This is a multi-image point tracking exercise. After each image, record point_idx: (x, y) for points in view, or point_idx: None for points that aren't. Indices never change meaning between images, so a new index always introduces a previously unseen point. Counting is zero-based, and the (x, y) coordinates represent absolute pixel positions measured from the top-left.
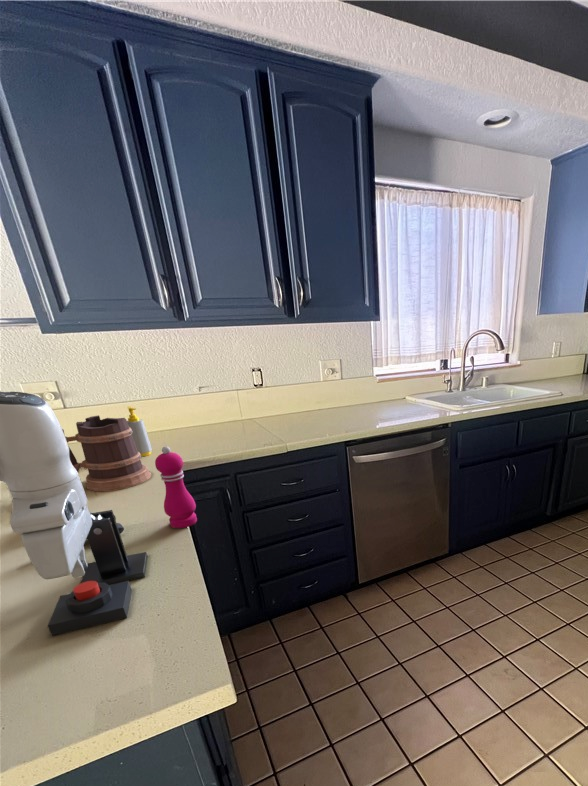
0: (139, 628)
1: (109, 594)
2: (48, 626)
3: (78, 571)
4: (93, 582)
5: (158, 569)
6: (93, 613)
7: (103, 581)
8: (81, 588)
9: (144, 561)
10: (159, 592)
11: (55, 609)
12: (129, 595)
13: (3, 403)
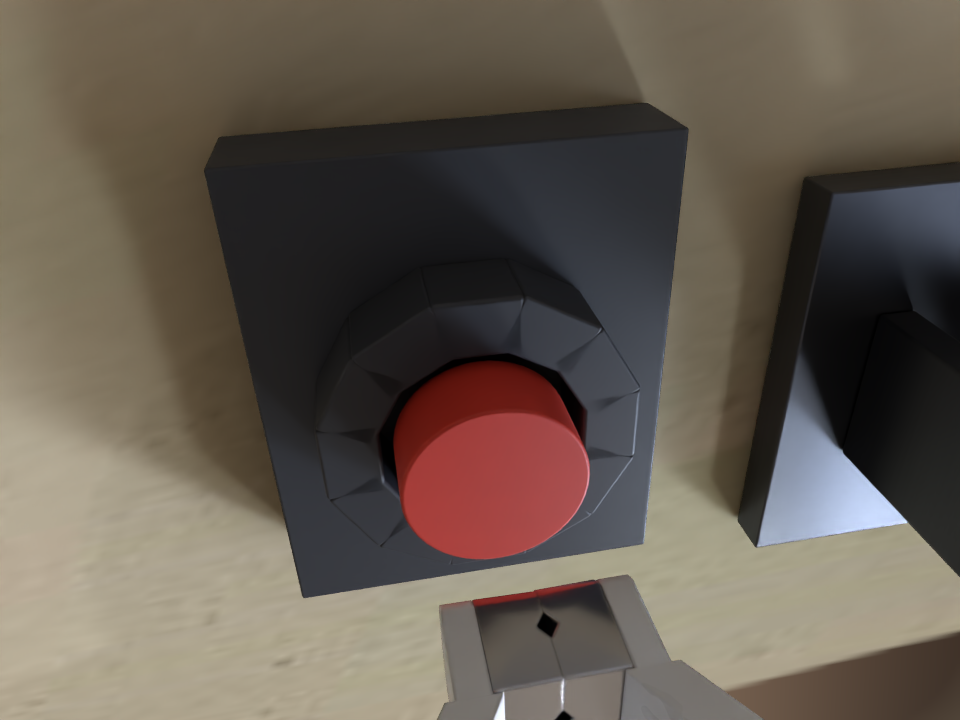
0: (173, 614)
1: None
2: (204, 172)
3: (450, 701)
4: (540, 528)
5: (784, 563)
6: (287, 456)
7: (793, 345)
8: (479, 470)
9: (893, 524)
10: None
11: (456, 159)
12: None
13: None
